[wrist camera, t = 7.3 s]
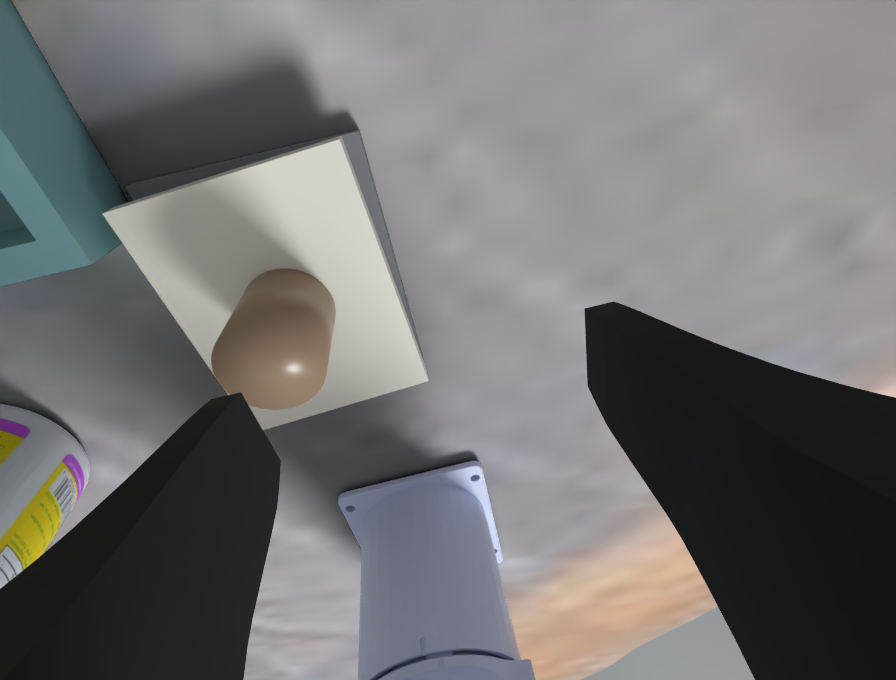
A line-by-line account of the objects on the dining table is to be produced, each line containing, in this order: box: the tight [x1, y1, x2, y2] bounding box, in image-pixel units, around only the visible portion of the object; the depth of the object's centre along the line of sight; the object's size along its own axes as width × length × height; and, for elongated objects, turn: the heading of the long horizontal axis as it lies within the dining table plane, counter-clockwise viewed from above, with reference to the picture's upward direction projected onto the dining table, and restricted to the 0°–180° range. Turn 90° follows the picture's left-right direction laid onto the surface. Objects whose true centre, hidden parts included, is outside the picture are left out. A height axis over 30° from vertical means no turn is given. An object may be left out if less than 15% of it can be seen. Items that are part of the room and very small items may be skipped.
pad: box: [125, 129, 424, 361], centre depth 18 cm, size 10×8×1 cm
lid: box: [102, 136, 428, 430], centre depth 16 cm, size 10×8×5 cm
